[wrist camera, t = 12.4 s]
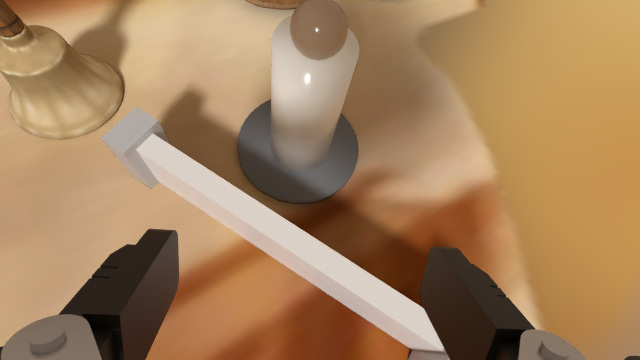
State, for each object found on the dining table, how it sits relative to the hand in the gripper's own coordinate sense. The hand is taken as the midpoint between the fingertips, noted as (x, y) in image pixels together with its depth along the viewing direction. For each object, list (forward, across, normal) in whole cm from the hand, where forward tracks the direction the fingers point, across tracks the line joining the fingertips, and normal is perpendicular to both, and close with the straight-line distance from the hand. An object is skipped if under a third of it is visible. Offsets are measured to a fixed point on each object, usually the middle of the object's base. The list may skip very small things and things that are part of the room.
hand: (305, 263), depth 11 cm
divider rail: (+13, 0, +8) cm, 15 cm away
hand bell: (+22, +19, 0) cm, 28 cm away
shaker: (+19, 0, +1) cm, 19 cm away
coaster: (+19, 0, +2) cm, 19 cm away
